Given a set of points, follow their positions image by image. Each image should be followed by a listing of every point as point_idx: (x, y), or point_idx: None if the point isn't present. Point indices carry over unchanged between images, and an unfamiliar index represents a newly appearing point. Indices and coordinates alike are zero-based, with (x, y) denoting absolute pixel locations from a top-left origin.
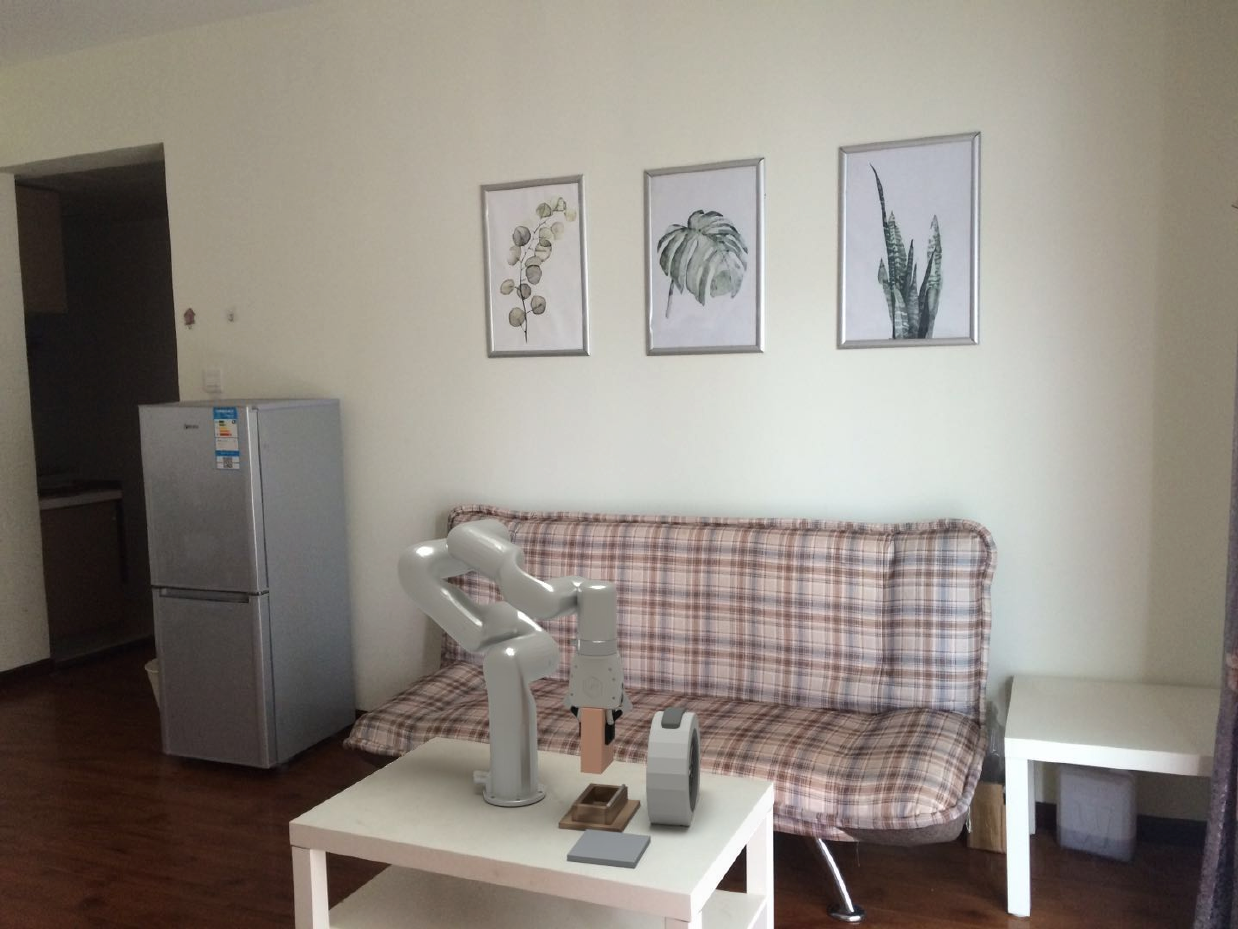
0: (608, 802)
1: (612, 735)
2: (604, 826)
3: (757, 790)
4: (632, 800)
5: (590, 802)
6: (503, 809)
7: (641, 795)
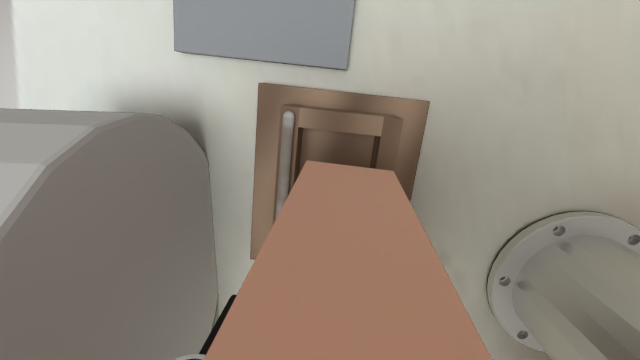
0: None
1: (225, 307)
2: (303, 93)
3: None
4: None
5: None
6: (587, 200)
7: None
